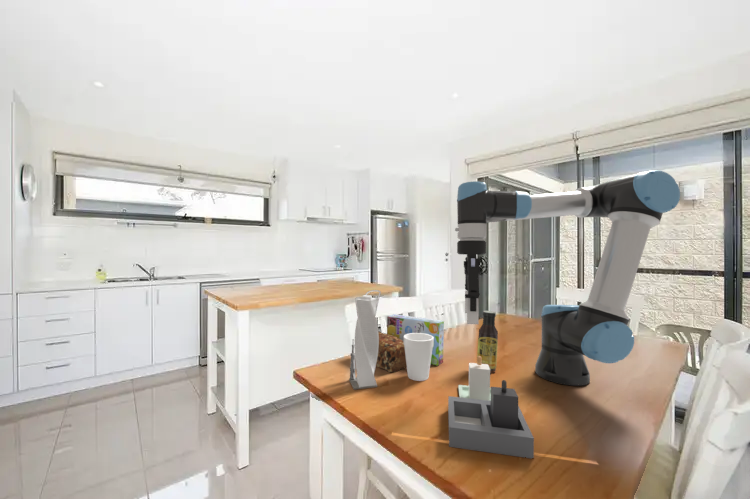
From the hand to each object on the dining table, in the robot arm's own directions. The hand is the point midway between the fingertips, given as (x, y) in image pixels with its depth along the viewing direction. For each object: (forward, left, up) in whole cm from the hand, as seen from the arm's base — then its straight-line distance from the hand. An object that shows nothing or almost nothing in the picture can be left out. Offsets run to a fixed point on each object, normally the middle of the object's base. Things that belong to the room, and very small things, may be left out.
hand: (471, 318), depth 85 cm
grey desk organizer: (-2, +16, -22) cm, 27 cm away
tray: (-2, +1, -22) cm, 22 cm away
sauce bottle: (-7, -22, -22) cm, 32 cm away
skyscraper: (+30, -2, -22) cm, 37 cm away
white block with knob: (-2, +1, -21) cm, 22 cm away
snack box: (+18, -28, -22) cm, 40 cm away
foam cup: (+15, -10, -22) cm, 29 cm away
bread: (+28, -21, -22) cm, 42 cm away
